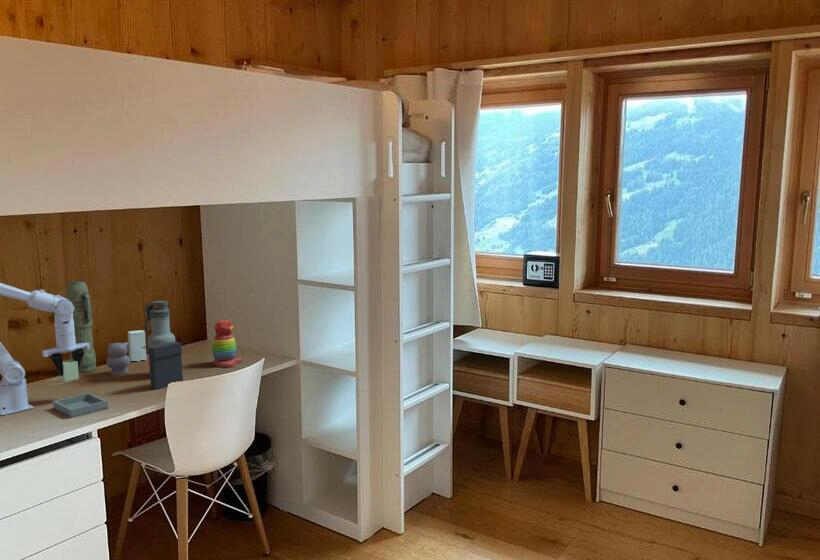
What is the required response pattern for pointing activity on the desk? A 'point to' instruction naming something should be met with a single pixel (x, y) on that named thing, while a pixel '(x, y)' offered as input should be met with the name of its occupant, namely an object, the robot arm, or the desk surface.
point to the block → (69, 370)
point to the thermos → (82, 322)
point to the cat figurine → (118, 358)
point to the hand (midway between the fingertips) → (68, 373)
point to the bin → (80, 405)
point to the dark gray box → (165, 364)
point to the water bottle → (158, 324)
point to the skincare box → (137, 345)
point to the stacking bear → (224, 345)
